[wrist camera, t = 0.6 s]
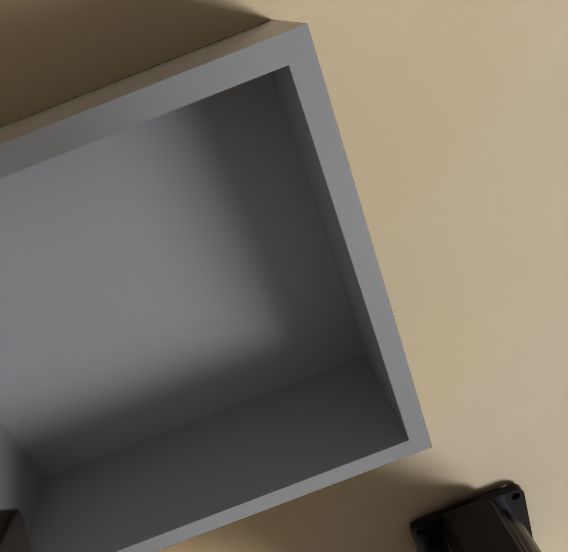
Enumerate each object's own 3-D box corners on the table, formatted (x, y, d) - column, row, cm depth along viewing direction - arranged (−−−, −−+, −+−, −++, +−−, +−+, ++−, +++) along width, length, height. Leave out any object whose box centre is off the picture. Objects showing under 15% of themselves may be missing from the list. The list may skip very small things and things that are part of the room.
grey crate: (379, 351, 24) (432, 446, 19) (44, 480, 25) (3, 609, 19) (272, 19, 18) (307, 23, 12) (-185, 200, 18) (-342, 279, 13)
